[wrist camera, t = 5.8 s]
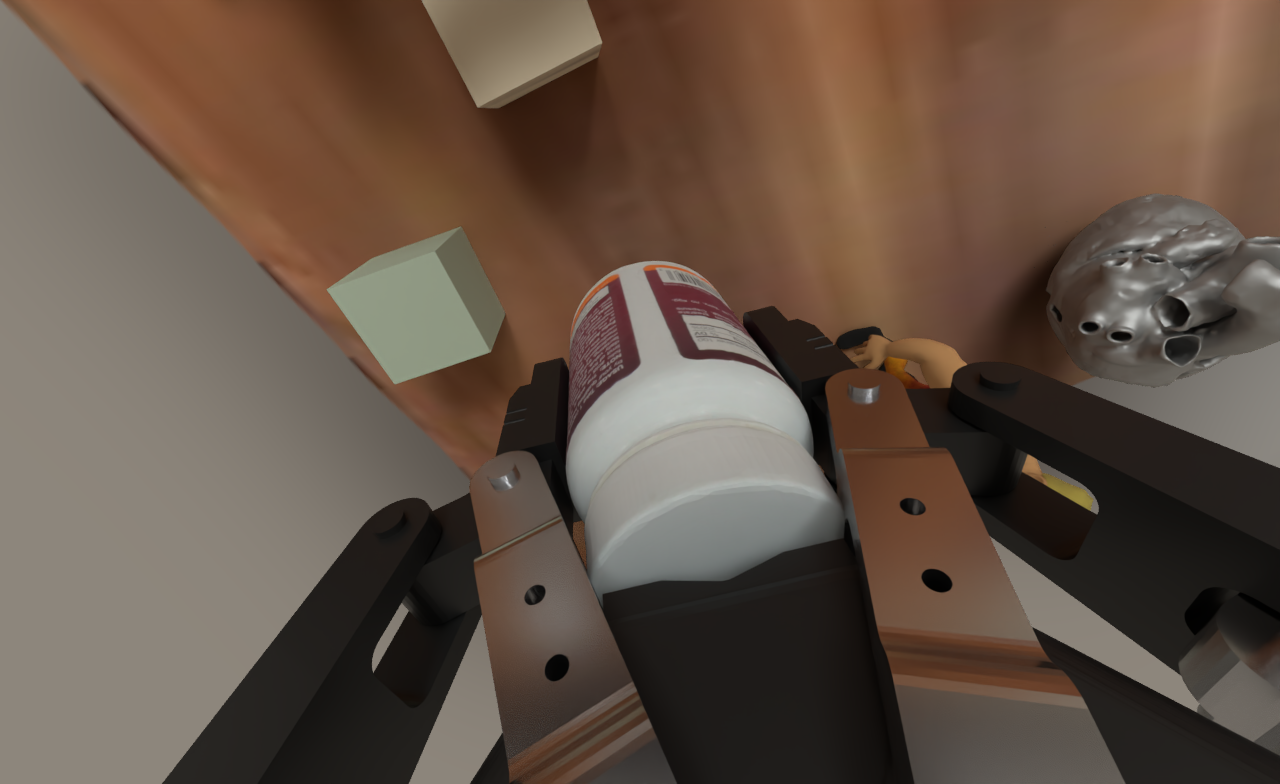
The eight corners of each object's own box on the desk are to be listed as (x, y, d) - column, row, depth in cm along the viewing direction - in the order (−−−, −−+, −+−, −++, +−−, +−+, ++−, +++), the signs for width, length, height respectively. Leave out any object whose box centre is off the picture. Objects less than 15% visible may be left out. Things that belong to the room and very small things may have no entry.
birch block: (430, -29, 18) (384, -71, 14) (542, -92, 17) (529, -156, 13) (498, 108, 21) (477, 107, 16) (598, 57, 20) (602, 42, 16)
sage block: (372, 257, 23) (326, 289, 19) (461, 226, 23) (434, 251, 19) (425, 340, 26) (394, 384, 22) (505, 312, 26) (490, 352, 22)
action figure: (812, 319, 28) (1003, 491, 15) (866, 284, 27) (1115, 436, 14) (866, 415, 32) (1048, 609, 20) (913, 387, 32) (1135, 572, 19)
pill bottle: (603, 420, 15) (623, 697, 8) (544, 290, 12) (496, 532, 5) (741, 375, 15) (888, 623, 8) (709, 231, 12) (885, 408, 5)
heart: (988, 375, 31) (1229, 477, 21) (951, 271, 27) (1235, 334, 16) (1113, 277, 30) (1430, 331, 20) (1096, 152, 26) (1496, 137, 15)
